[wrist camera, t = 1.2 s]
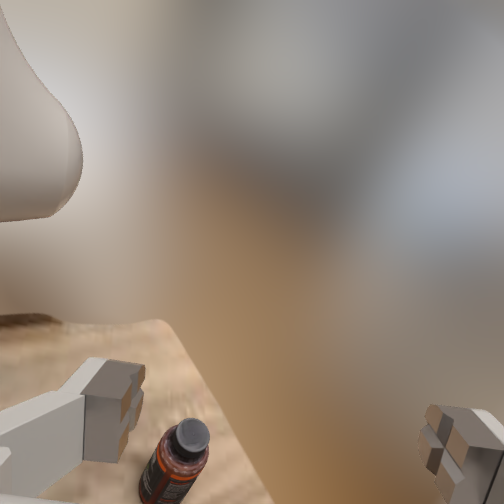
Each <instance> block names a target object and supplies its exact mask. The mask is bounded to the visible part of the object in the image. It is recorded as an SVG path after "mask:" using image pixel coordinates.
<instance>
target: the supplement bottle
mask: <svg viewBox="0 0 504 504" xmlns="http://www.w3.org/2000/svg"><path fill="white" fill-rule="evenodd" d="M209 440H210V435H209V431H208V428H207V427H206V425H205V424H204V423H203V422H202V421H200V420H198V419H195V418H187V419H184V420H183V421H181V422H180V423H179V425H175V426H173V427H171V428H170V429H168V430H167V431H166V432H165V434H164V435H163V436H162V438H161V440H160V442H159V444H158V445H157V447H156V449H155V451H154V453H153V455H152V457H151V459H150V460H149V462H148V464H147V466H146V468H145V470H144V472H143V474H142V476H141V480H140V486H139V489H140V495H141V498H142V500H143V502H144V503H145V504H180V503H181V501H182V500H183V499H184V497H185V496H186V494H187V493H188V491H189V489H190V488H191V486H192V485H193V483H194V482H195V480H196V479H197V477H198V476H199V474H200V473H201V471H202V469H203V468H204V466H205V464H206V462H207V460H208V455H209V447H208V443H209Z"/></svg>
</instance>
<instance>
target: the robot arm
mask: <svg viewBox="0 0 504 504" xmlns="http://www.w3.org/2000/svg"><path fill="white" fill-rule="evenodd" d="M82 167H83V152H82V145H81V141H80V138H79V135H78V132H77V129H76V127H75V125H74V123H73V121H72V119H71V117H70V116H69V114H68V113H67V111H66V110H65V109H64V107H63V106H62V104H61V103H60V102H59V101H58V100H57V99H56V98H55V97H54V96H53V95H52V94H51V93H50V92H49V90H48V89H47V88H46V87H45V86H44V84H43V83H42V82H41V80H40V79H39V78H38V77H37V75H36V74H35V72H34V71H33V69H32V68H31V67H30V65H29V64H28V62H27V61H26V59H25V57H24V55H23V54H22V52H21V50H20V48H19V47H18V45H17V43H16V41H15V39H14V37H13V35H12V33H11V31H10V28H9V26H8V24H7V22H6V19H5V17H4V14H3V12H2V9H1V7H0V222H9V221H10V222H11V221H21V220H29V219H39V218H46V217H51V216H52V215H54V214H55V213H56V212H57V211H59V210H60V209H61V208H62V207H63V206H64V205H65V204H66V203H67V202H68V201H69V199H70V198H71V197H72V195H73V193H74V192H75V190H76V188H77V186H78V183H79V181H80V177H81V174H82ZM144 379H145V365H143V364H137V363H130V362H124V361H118V360H111V359H105V358H97V357H90V358H88V359H87V360H86V361H85V362H84V363H83V364H82V365H81V366H80V367H79V368H78V369H77V370H76V371H75V373H74V374H73V375H72V376H71V377H70V378H69V379H68V380H67V381H66V382H65V383H64V384H63V385H62V387H61V388H60V389H59V390H58V391H49V392H47V393H44V394H42V395H39V396H37V397H34V398H32V399H29V400H27V401H24V402H22V403H19V404H17V405H14V406H12V407H9V408H7V409H4V410H2V411H0V504H78V503H70V502H62V501H54V500H46V499H39V498H36V497H37V496H38V495H40V494H41V493H42V492H44V491H45V490H46V489H48V488H49V487H50V486H52V485H53V484H54V483H56V482H57V481H58V480H59V479H61V478H62V477H63V476H65V475H66V474H67V473H69V472H70V471H71V470H73V469H74V468H75V467H77V466H78V465H79V464H81V463H82V460H87V461H97V462H107V463H117V464H118V461H119V459H120V457H121V455H122V453H123V451H124V449H125V447H126V445H127V443H128V434H129V432H130V431H132V430H134V428H135V426H136V424H137V422H138V419H139V416H140V413H141V409H142V404H143V396H144V392H143V391H142V389H141V388H140V387H141V385H142V383H143V381H144ZM425 419H426V421H427V423H428V424H427V425H426V426H425V427H423V428H422V429H421V430H420V434H419V438H418V451H419V454H420V457H421V460H422V462H423V463H424V465H425V467H426V468H427V469H428V470H429V471H431V472H432V473H433V474H434V475H435V476H436V477H435V484H436V486H437V488H438V490H439V491H440V493H441V495H442V496H443V498H444V500H445V502H446V503H447V504H504V427H503V426H502V425H501V424H500V423H499V422H498V421H497V420H496V419H495V418H494V417H493V416H492V415H491V414H490V413H489V412H487V411H485V410H481V409H471V408H458V407H451V406H442V405H433V404H431V405H430V406H429V407H428V408H427V410H426V413H425Z"/></svg>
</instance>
